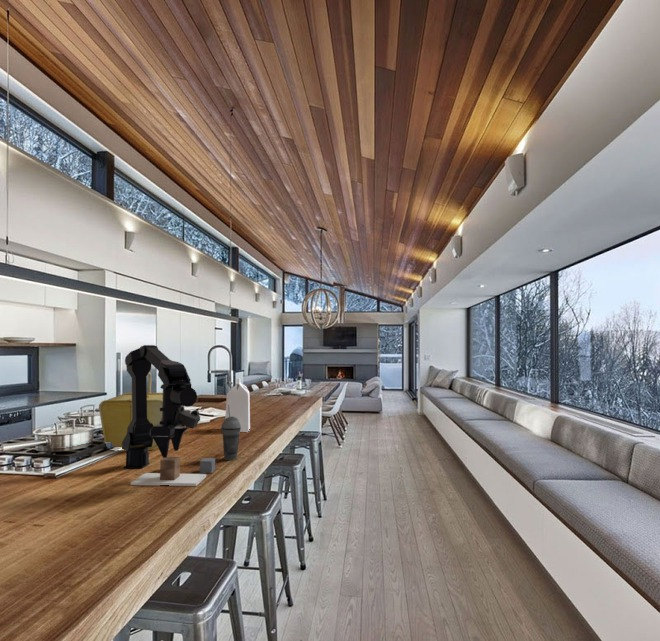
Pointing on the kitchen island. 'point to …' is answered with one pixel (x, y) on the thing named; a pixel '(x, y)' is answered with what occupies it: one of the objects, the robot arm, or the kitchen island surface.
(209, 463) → the charcoal block
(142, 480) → the cream tile
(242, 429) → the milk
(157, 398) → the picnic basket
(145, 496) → the kitchen island surface
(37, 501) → the kitchen island surface
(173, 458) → the walnut block
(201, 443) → the kitchen island surface
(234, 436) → the beverage cup
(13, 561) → the kitchen island surface
